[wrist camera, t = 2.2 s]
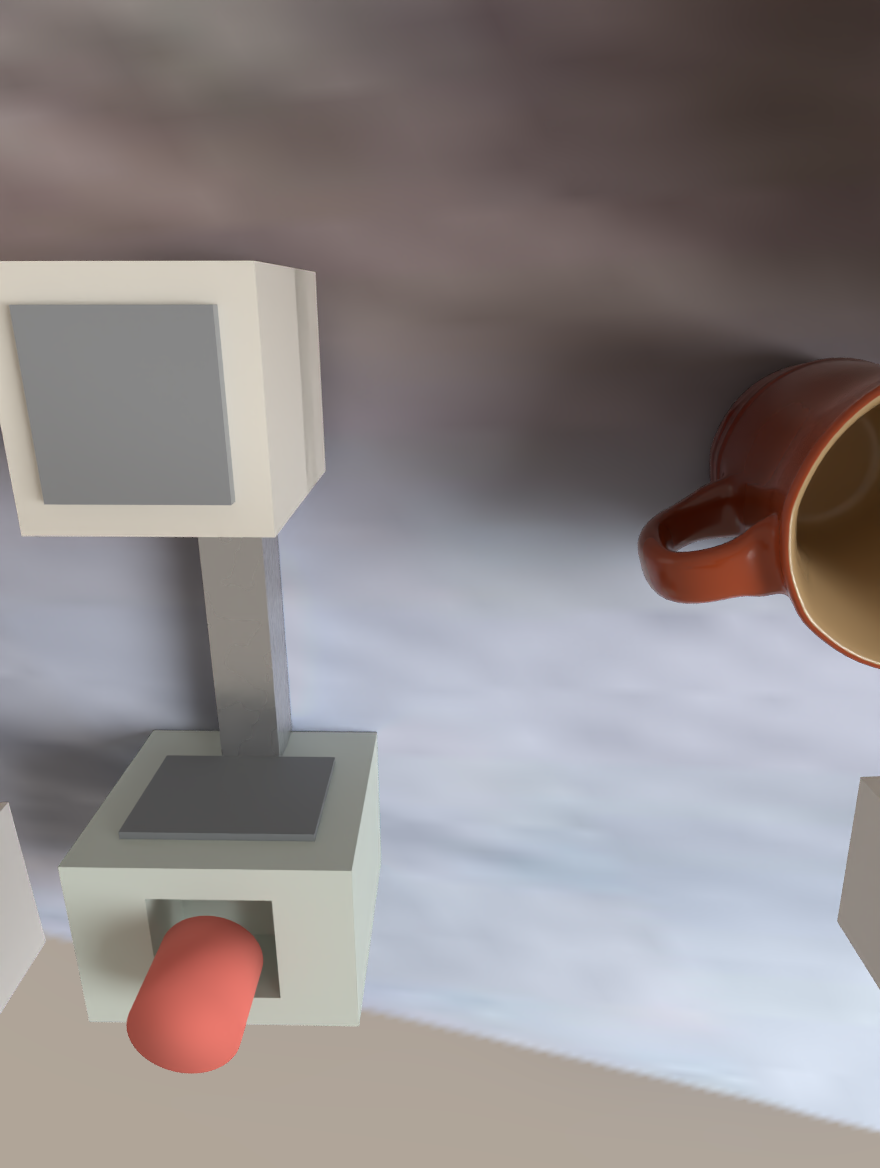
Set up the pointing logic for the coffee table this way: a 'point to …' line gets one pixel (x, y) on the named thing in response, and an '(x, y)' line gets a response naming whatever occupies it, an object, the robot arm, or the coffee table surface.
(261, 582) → the rail
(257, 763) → the end cabinet
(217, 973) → the button
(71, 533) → the cream and grey block
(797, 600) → the mug
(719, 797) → the coffee table surface
